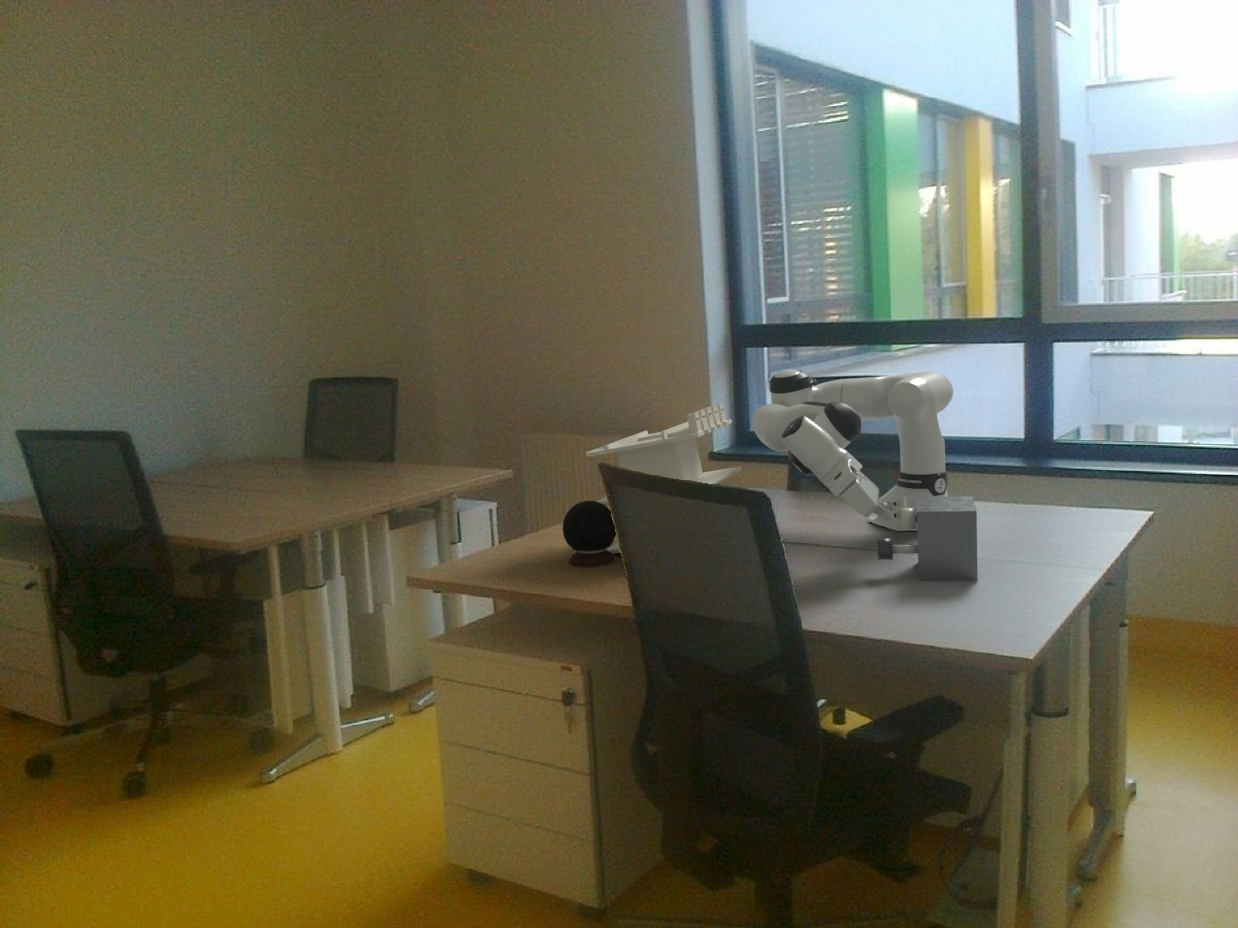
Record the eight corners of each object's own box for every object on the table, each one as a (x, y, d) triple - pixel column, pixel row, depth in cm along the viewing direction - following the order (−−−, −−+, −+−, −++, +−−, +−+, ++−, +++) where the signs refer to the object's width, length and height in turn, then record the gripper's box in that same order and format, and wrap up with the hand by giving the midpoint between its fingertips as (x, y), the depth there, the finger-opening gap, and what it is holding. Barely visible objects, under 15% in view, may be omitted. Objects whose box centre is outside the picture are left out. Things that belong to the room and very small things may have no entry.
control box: (918, 580, 246) (916, 511, 244) (918, 562, 262) (916, 497, 259) (977, 581, 243) (976, 511, 241) (973, 562, 259) (972, 496, 256)
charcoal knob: (878, 561, 249) (877, 541, 249) (878, 556, 254) (878, 536, 253) (926, 561, 247) (925, 540, 246) (926, 556, 251) (925, 536, 251)
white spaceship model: (722, 558, 275) (692, 414, 272) (606, 573, 288) (576, 435, 285) (755, 533, 299) (728, 401, 296) (647, 548, 312) (620, 421, 309)
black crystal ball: (568, 570, 274) (563, 508, 272) (562, 558, 287) (557, 498, 285) (623, 565, 276) (619, 503, 274) (614, 553, 289) (610, 494, 287)
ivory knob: (902, 530, 255) (901, 510, 254) (902, 526, 259) (901, 506, 259) (949, 530, 253) (948, 509, 252) (948, 526, 257) (948, 505, 256)
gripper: (836, 476, 269) (879, 517, 268) (830, 493, 249) (877, 538, 248) (855, 457, 267) (899, 499, 266) (851, 472, 247) (898, 517, 246)
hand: (888, 518), depth 257 cm, fingers closed
